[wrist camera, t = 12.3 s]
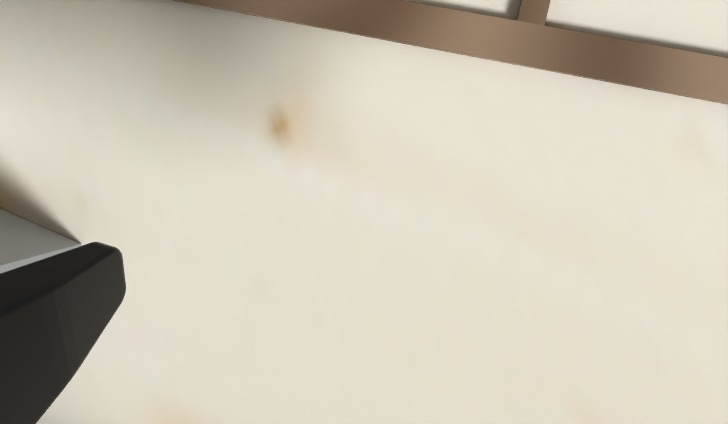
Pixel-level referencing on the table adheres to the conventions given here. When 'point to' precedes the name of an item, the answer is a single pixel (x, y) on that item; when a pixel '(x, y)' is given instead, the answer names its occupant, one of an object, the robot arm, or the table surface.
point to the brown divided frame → (506, 41)
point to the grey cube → (27, 242)
